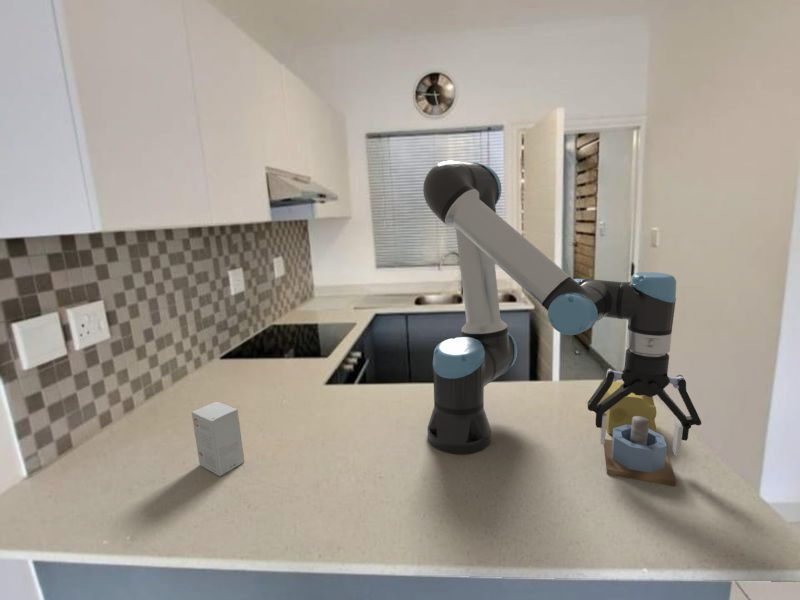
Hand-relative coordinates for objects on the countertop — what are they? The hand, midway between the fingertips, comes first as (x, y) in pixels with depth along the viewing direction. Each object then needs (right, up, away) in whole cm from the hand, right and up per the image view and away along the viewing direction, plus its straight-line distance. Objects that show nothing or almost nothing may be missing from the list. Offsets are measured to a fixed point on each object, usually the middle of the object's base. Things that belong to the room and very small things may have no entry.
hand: (638, 446), depth 88 cm
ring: (0, -3, +1) cm, 3 cm away
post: (0, -4, +1) cm, 4 cm away
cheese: (+5, 0, +16) cm, 17 cm away
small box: (-90, -6, +6) cm, 90 cm away
